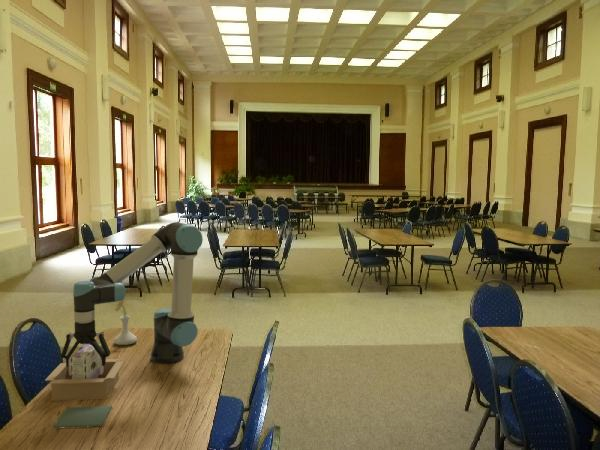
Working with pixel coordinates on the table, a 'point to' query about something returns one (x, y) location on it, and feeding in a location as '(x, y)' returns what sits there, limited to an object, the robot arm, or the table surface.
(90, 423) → the mat
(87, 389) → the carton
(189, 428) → the table surface
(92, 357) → the candy box
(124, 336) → the flower in vase
